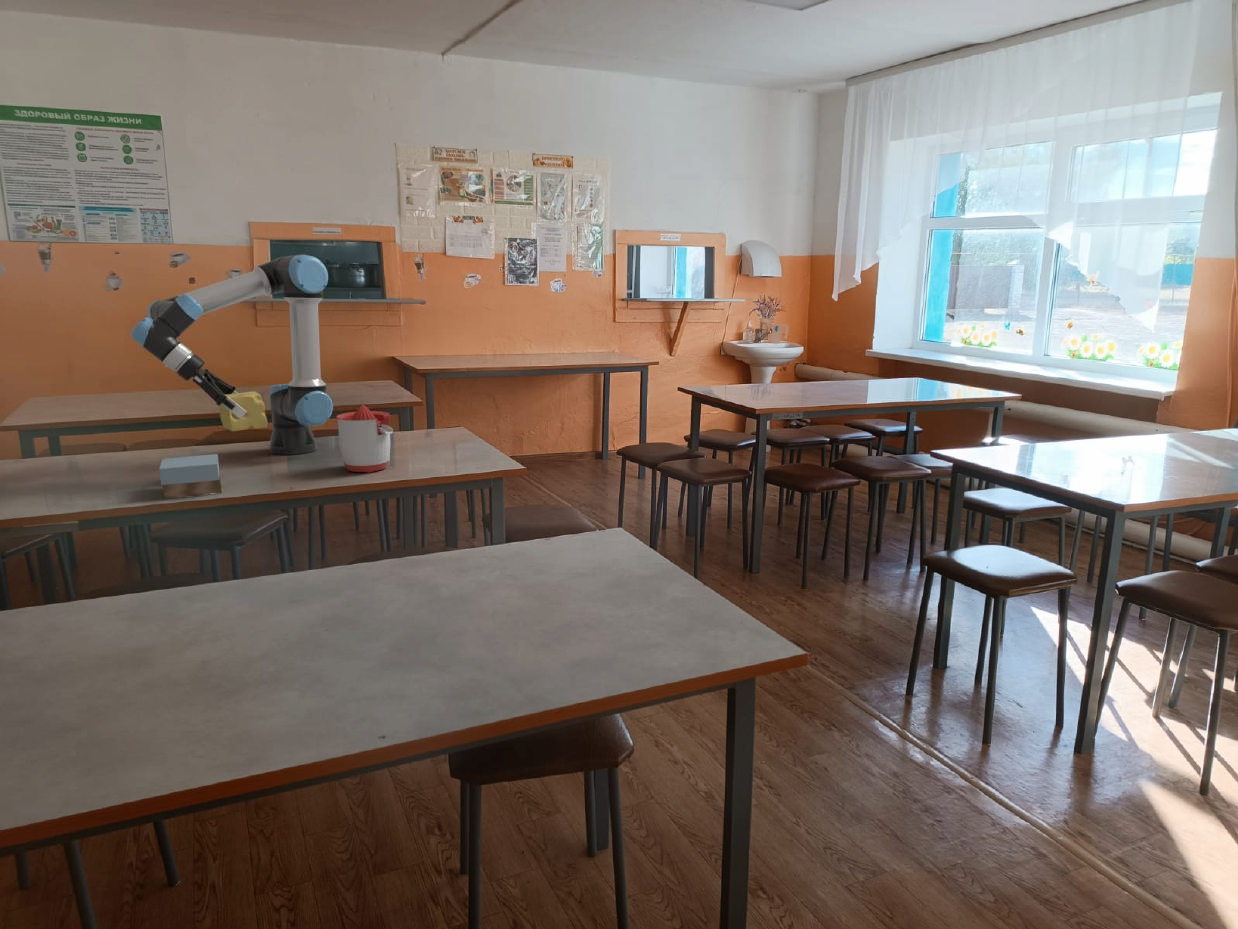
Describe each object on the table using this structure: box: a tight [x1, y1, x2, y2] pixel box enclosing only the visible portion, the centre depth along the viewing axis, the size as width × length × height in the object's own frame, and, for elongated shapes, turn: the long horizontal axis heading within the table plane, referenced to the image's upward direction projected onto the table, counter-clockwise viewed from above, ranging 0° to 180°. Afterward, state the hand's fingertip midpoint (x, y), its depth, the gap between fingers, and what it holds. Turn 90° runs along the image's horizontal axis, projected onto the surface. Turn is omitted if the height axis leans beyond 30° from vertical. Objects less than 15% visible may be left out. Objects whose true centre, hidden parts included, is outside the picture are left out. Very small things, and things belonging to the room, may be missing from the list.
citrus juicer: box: [336, 404, 394, 474], centre depth 260 cm, size 16×17×20 cm
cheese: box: [218, 390, 268, 432], centre depth 252 cm, size 10×11×10 cm
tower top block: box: [158, 453, 220, 486], centre depth 235 cm, size 14×14×4 cm
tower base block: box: [162, 474, 223, 501], centre depth 236 cm, size 14×14×4 cm
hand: (246, 411), depth 252 cm, fingers closed on cheese, 13 cm apart
